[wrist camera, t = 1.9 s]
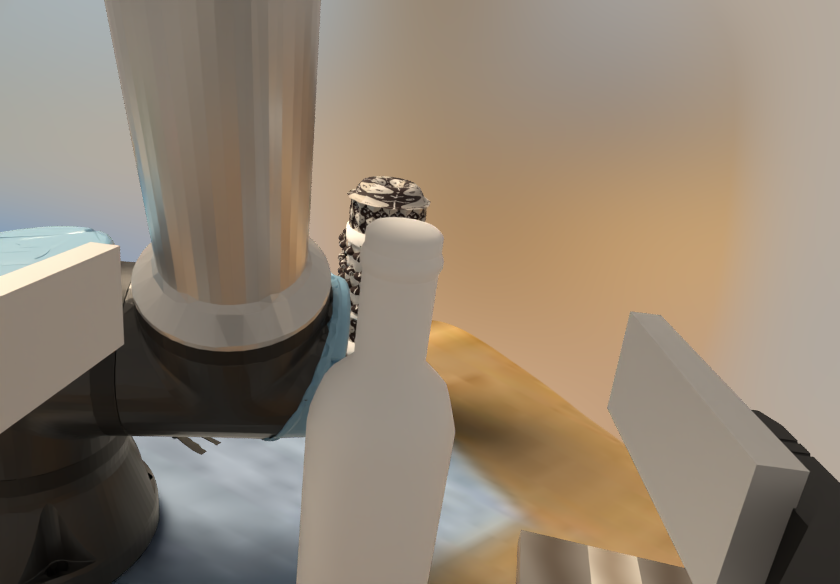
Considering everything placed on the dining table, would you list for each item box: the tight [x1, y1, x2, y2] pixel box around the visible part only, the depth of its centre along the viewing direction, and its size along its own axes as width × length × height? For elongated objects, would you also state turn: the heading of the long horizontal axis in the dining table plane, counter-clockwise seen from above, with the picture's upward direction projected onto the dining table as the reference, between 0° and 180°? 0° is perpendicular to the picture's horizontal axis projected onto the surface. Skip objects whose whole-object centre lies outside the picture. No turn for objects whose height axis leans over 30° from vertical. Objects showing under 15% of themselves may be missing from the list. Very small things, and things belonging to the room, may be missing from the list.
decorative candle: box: [338, 176, 430, 356], centre depth 62 cm, size 9×9×25 cm
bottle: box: [296, 217, 455, 584], centre depth 33 cm, size 8×8×30 cm
